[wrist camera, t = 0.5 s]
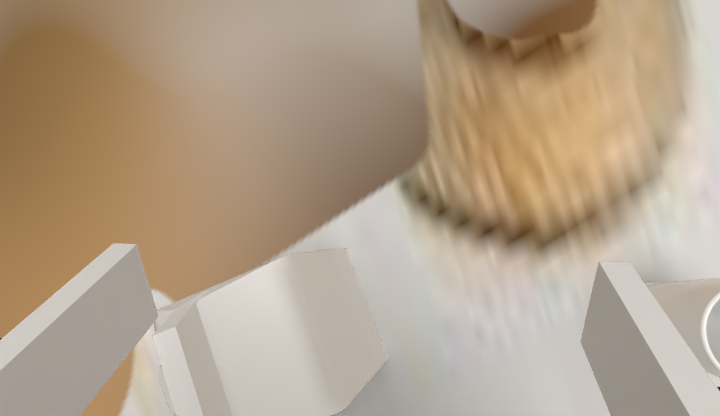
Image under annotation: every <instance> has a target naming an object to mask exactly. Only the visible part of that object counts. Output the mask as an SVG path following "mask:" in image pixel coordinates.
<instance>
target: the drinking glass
mask: <svg viewBox="0 0 720 416" xmlns="http://www.w3.org/2000/svg"><path fill="white" fill-rule="evenodd" d="M645 285H646V286H647V288H648V289H649V290H650V292H651V293H652V295H653V296H654V298H655V299H656V301H657V302H658V303H659V305H660V306H661V308H662V309H663V311H664V312H665V313H666V315H667V316H668V318H669V319H670V321H671V322H672V323H673V325H674V326H675V328H676V329H677V331H678V332H679V333H680V335H681V336H682V338H683V339H684V341H685V342H686V344H687V345H688V346H689V348H690V349H691V351H692V352H693V354H694V355H695V356H696V358H697V359H698V361H699V362H700V364H701V365H702V366H703V368H704V369H705V371H706V372H707V373H710V374H712V375H714V376H717V377H719V378H720V278H710V279H698V280H688V281H677V282H666V283H655V282H650V283H645Z"/></svg>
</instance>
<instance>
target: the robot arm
mask: <svg viewBox="0 0 720 416" xmlns="http://www.w3.org/2000/svg"><path fill="white" fill-rule="evenodd" d="M157 318H158V313H157V310H156V306H155V303H154V300H153V296H152V293H151V290H150V286H149V283H148V280H147V276H146V273H145V270H144V266H143V263H142V260H141V257H140V253H139V250H138V246H137V244H112V245H111V246H110V247H109V248H108V249H107V250H105V251H104V252H103V253H102V254H101V255H99V256H98V257H97V258H96V259H95V260H94V261H92V262H91V263H90V264H89V265H88V266H87V267H85V268H84V269H83V270H82V271H81V272H79V274H77V275H76V276H75V277H74V278H72V279H71V280H70V281H69V282H68V283H67V284H65V285H64V286H63V287H62V288H61V289H60V290H59V291H57V292H56V293H55V294H54V295H53V296H51V297H50V298H49V299H48V300H47V301H46V302H44V303H43V304H42V305H41V306H40V307H39V308H38V309H36V310H35V311H34V312H33V313H31V314H30V315H29V316H28V317H27V318H26V319H24V320H23V321H22V322H21V323H20V324H19V325H17V326H16V327H15V328H14V329H13V330H12V331H10V332H9V333H8V334H7V335H6V336H4V337H3V338H0V416H80V415H81V414H82V412H83V411H84V410H85V409H86V407H87V406H88V405H89V404H90V402H91V401H92V400H93V398H94V397H95V396H96V395H97V393H98V392H99V391H100V390H101V388H102V387H103V386H104V385H105V383H106V382H107V381H108V380H109V378H110V377H111V376H112V374H113V373H114V372H115V371H116V369H117V368H118V367H119V366H120V364H121V363H122V362H123V361H124V359H125V358H126V357H127V355H128V354H129V353H130V352H131V350H132V349H133V348H134V347H135V345H136V344H137V343H138V342H139V340H140V339H141V338H142V337H143V335H144V334H145V333H146V332H147V330H148V329H149V328H150V326H151V325H152V324H153V323H154V321H155V320H156V319H157ZM581 344H582V346H583V349H584V351H585V354H586V356H587V358H588V361H589V363H590V366H591V368H592V371H593V373H594V375H595V378H596V380H597V383H598V385H599V388H600V390H601V392H602V395H603V397H604V400H605V402H606V404H607V407H608V409H609V412H610V414H611V416H720V387H716V385H715V384H714V382H713V381H712V379H711V378H710V376H709V375H708V374H707V372H706V371H705V369H704V368H703V366H702V365H701V364H700V362H699V361H698V359H697V358H696V356H695V355H694V354H693V352H692V351H691V349H690V348H689V346H688V345H687V344H686V342H685V341H684V339H683V338H682V336H681V335H680V333H679V332H678V331H677V329H676V328H675V326H674V325H673V323H672V322H671V321H670V319H669V318H668V316H667V315H666V313H665V312H664V311H663V309H662V308H661V306H660V305H659V303H658V302H657V301H656V299H655V298H654V296H653V295H652V293H651V292H650V290H649V289H648V288H647V286H646V285H645V283H644V282H643V280H642V279H641V278H640V276H639V275H638V273H637V272H636V270H635V269H634V268H633V266H632V265H631V263H626V262H599V263H598V267H597V272H596V276H595V281H594V285H593V289H592V294H591V298H590V302H589V307H588V311H587V316H586V320H585V324H584V329H583V333H582V338H581Z"/></svg>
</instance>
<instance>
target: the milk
mask: <svg viewBox="0 0 720 416" xmlns="http://www.w3.org/2000/svg"><path fill="white" fill-rule="evenodd" d="M157 313H158V318H157V319H156V320H155V321H154V328H155V334H154V335H153V336H152V337H153V340H154V343H155V347H156V350H157V353H158V357H159V360H160V363H161V366H159V378H160V383H161V387H162V391H163V394H164V397H165V400H166V402H167V405H168V407H169V409H170V411H171V412H172V414H173V415H175V414H176V416H332V415H334V414H336V413H338V412H340V411H342V410H344V409H345V408H346V407H347V406H348V405H349V404H350V403H351V402H352V401H353V399H354V398H355V397H356V396H357V395H358V394H359V392H360V391H361V390H362V389H363V388H364V387H365V385H366V384H367V383H368V382H369V381H370V380H371V378H372V377H373V376H374V375H375V374H376V373H377V371H378V370H379V369H380V368H381V367H382V366H383V364H384V363H385V362H386V361H387V360H388V359H389V358H388V355H387V353H386V350H385V348H384V345H383V343H382V340H381V338H380V335H379V332H378V330H377V327H376V325H375V322H374V320H373V317H372V315H371V312H370V309H369V307H368V304H367V302H366V299H365V297H364V294H363V292H362V289H361V286H360V284H359V281H358V279H357V276H356V274H355V271H354V269H353V266H352V263H351V261H350V258H349V256H348V253H347V251H346V248H344V249H334V250H325V251H316V252H307V253H298V254H291V255H287V256H284V257H282V258H279V259H277V260H274V261H272V262H270V263H267V264H265V265H262V266H260V267H258V268H255V269H253V270H251V271H248V272H246V273H243V274H241V275H239V276H236V277H234V278H232V279H229V280H227V281H225V282H222V283H220V284H217V285H215V286H213V287H210V288H208V289H206V290H203V291H201V292H198V293H196V294H194V295H191V296H189V297H187V298H184V299H182V300H179V301H177V302H175V303H172V304H170V305H168V306H165V307H163V308H160V309H158V310H157Z"/></svg>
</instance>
